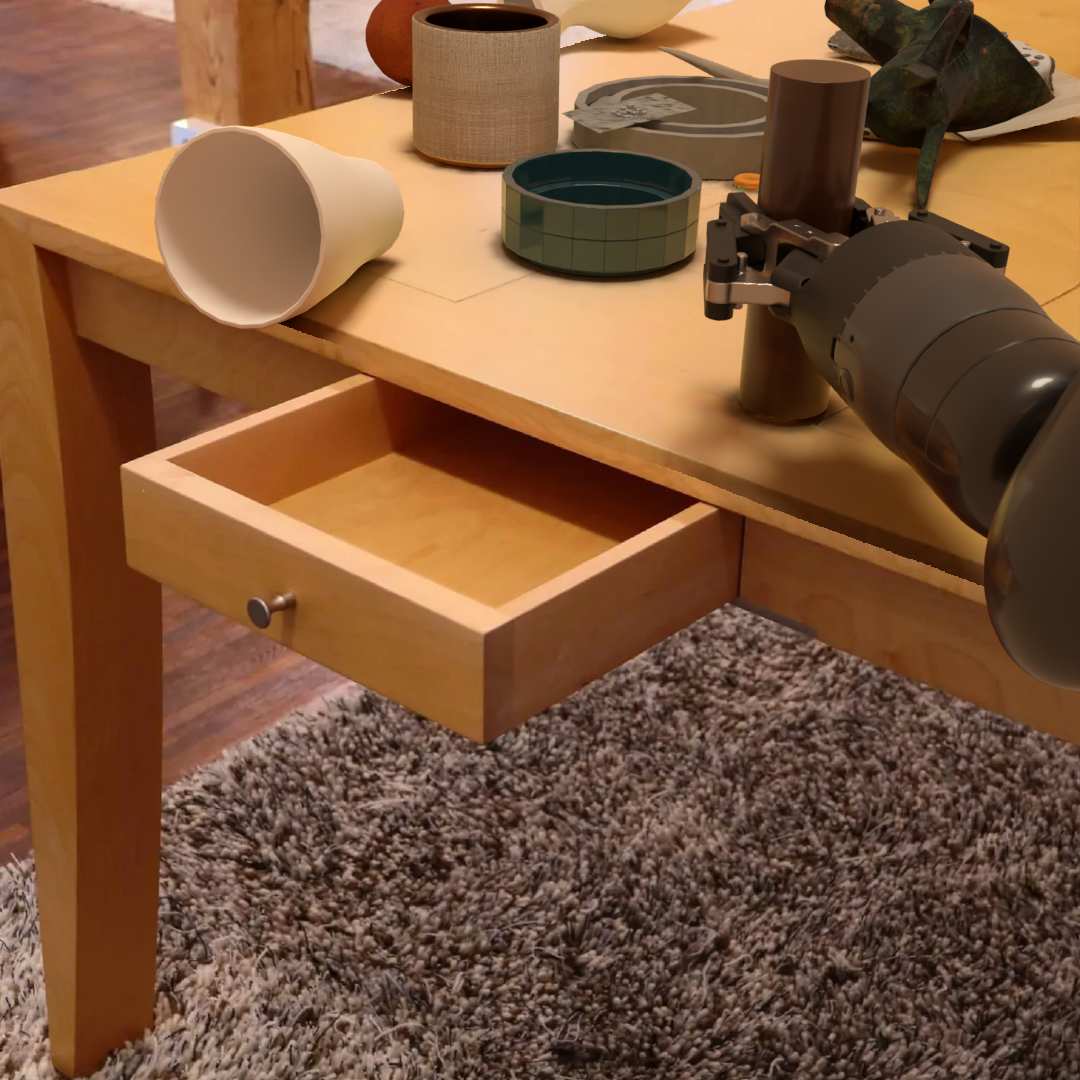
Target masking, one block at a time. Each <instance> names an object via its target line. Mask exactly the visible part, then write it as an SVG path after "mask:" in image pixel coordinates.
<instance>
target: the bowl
mask: <svg viewBox="0 0 1080 1080" xmlns="http://www.w3.org/2000/svg"><path fill="white" fill-rule="evenodd" d="M702 188H703V179H702V178H701V177H700V176H699V175H698V174H697V173H696V171H695V170H693V169H691V168H689V167H688V166H686V165H684V164H682V163H680V162H677V161H674V160H671V159H667V158H664V157H660V156H657V155H653V154H647V153H641V152H634V151H627V150H615V149H600V148H599V149H597V148H594V149H578V148H567V149H559V150H554V151H550V152H543V153H539V154H535V155H531V156H527V157H524V158H520V159H519V160H517V161H515V162H513V163H511V164H509V165H508V166H507V167H506V168H504V170H503V172H502V174H501V204H500V205H501V211H500V236H501V238H502V240H503V243H504V245H505V247H506V248H508V249H509V250H511V251H512V252H514V253H515V254H516V255H518V256H520V257H522V258H524V259H525V260H527V261H528V262H530V263H532V264H535V265H536V266H539V267H542V268H544V269H546V270H547V269H548V270H551V271H556V272H559V273H564V274H571V275H576V276H585V277H587V276H588V277H603V278H605V277H612V278H613V277H627V276H636V275H643V274H649V273H653V272H656V271H660V270H663V269H665V268H668V267H670V266H671V265H673V264H676V263H677V262H679V261H682V260H684V259H686V258H688V256H690V255H691V254H692V253H693V252H694V251H696V249H697V244H698V236H699V225H700V213H701V212H700V211H701V201H702Z"/></svg>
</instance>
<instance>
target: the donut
mask: <svg viewBox="0 0 1080 1080" xmlns="http://www.w3.org/2000/svg"><path fill="white" fill-rule="evenodd" d="M759 179H760V174H754V173H743V174H739V175H737V176H735V177H734V179H733V186H734V188H736V189H739V190H741V191H747V192H758V190H759Z"/></svg>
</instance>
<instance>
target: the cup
mask: <svg viewBox="0 0 1080 1080" xmlns="http://www.w3.org/2000/svg"><path fill="white" fill-rule="evenodd" d="M404 206H405V205H404V199H403V195H402V193H401V190H400V187H399V185H398V183H397V182H396V180H395V178H394V177H393V175H392V174H391V173H390V172H389V171H387V170H386V168H384V166H382V165H381V164H379V163H378V162H375V161H373V160H371V159H368V158H363V157H357V156H347V155H343V154H340V153H338V152H335V151H332V150H329V149H328V148H326V147H324V146H322V145H320V144H318V143H316V142H314V141H312V140H310V139H306V138H303V137H299V136H297V135H293V134H289V133H287V132H283V131H278V130H274V129H269V128H265V127H259V126H258V127H257V126H248V125H247V126H246V125H237V124H236V125H235V124H234V125H225V126H218V127H216V126H215V127H211V128H210V129H207V130H205V131H203V132H201V133H199V134H196V135H194V136H192V137H191V138H190V139H188V140H187V141H186V142H185V143H184V144H183V145H182V146H181V147H180V148H179V149H178V150H176V152H175V153H174V154H173V156H172V158H171V159H170V160H169V163H168V164H167V166H166V167H165V169H164V171H163V172H162V176H161V179H160V181H159V185H158V188H157V192H156V196H155V204H154V221H153V222H154V231H155V236H156V237H155V238H156V242H157V248H158V251H159V254H160V256H161V259H162V262H163V264H164V268H165V269H166V272H167V275H168V276H169V277H170V279H171V280H172V282H173V283H174V286H175V287H176V288H177V290H178V291H179V293H180V295H182V296H183V297H184V298H185V299H186V300H187V301H188V302H189V304H191V305H192V306H193V307H194V308H195V309H196V310H197V311H198V312H199V313H200V314H202V315H205V316H206V317H207V318H210V319H211V320H213V321H215V322H217V323H218V324H220V325H224V326H227V327H232V328H234V329H239V330H260V329H262V330H263V329H267V328H269V327H272V326H274V325H277V324H281V323H283V322H285V321H287V320H290V319H292V318H295V317H297V316H298V315H301V314H304V313H306V312H307V311H309V310H311V309H312V308H313V307H314V306H316V305H317V304H318V303H319V302H322V300H324V299H325V298H326V297H328V296H329V295H330V294H332V293H333V292H334V291H336V290H337V289H338V288H339V287H341V286H343V285H344V284H345V283H346V282H347V280H349V278H351V276H352V275H353V274H355V272H356V271H357V270H358V269H359V268H360V267H361V266H363V264H366V263H368V262H370V261H372V260H374V259H376V258H378V257H380V256H383V255H384V254H385V253H386V252H387V251H389V250H390V249H392V247H393V246H394V245H395V243H396V242H397V240H398V239H399V237H400V235H401V233H402V229H403V226H404V219H405V218H404V217H405V207H404Z"/></svg>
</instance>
